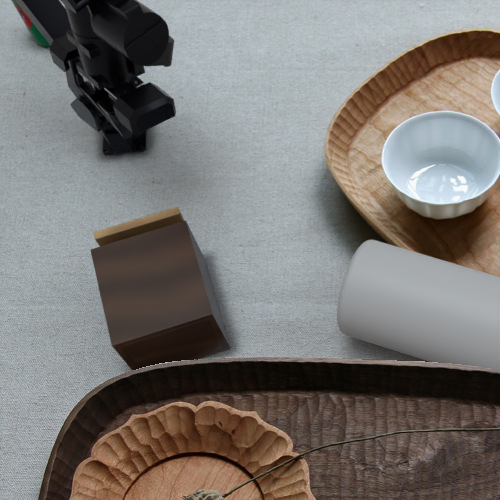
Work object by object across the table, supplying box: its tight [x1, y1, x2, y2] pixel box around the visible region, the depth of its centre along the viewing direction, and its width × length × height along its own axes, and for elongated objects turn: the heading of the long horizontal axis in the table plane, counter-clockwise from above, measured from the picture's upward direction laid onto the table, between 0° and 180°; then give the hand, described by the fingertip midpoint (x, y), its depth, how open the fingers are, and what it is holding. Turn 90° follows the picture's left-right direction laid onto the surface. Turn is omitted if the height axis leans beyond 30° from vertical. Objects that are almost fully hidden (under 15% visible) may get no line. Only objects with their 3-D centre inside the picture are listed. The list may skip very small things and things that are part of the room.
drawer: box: [93, 206, 185, 247], centre depth 107 cm, size 15×11×8 cm
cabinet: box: [90, 219, 232, 371], centre depth 105 cm, size 15×13×10 cm
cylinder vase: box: [336, 239, 500, 373], centre depth 101 cm, size 12×12×25 cm
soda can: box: [10, 0, 51, 47], centre depth 125 cm, size 5×5×12 cm
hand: (126, 135), depth 106 cm, fingers closed
